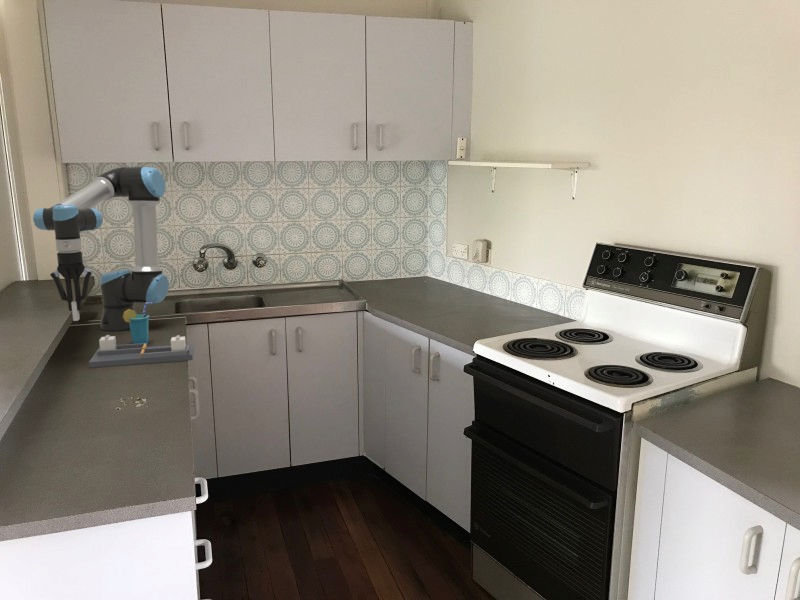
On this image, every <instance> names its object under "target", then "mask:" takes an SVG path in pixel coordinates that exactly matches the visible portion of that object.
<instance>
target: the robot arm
mask: <svg viewBox="0 0 800 600" xmlns="http://www.w3.org/2000/svg"><path fill="white" fill-rule="evenodd" d="M165 181H166V180H165V178H164V176H163V174H162V173H161V171H160V170H158V169H157V168H156V167H149V166H142V167H141V166H140V167H139V166H136V167H135V166H132V167H129V166H128V167H127V166H126V167H124V166H123V167H122V166H119V167H116V168H112V169H110V170H108V171H105V172H102V174H99V175H97V176H96V177H94V178H93V179H92V180H91V183H89V184H88V185H86V186H85V187H83V188H82V189H79V190H77V191H76V192H74V193H73V194H71V195H69V196H68V197H66V198H64V199H62V200H60V201H59V202H58V203H56V204H54V205H52V206H51V207H49V208H46V207H43V208H38V209H36V210H35V211H34V213H33V215H32V218H33V219H32V220H33V223H34V226H35V227H36V228H37V229H38V230H40V231H41V230H44V231H54V235H55V236H54V238H55V247H56V251H57V253H56V258H57V267H56V270H55V271H53V272H51V273H50V277H51V279H53V280H54V283H55V287H56V288H57V291H58V293H59V296H60V298H61V301H65V302H67V303H68V304H67V305H68V311H69V312H71V313H72V321H73V322H79V320H80V311H82V308H83V306H82V301H83V300H85V299H86V298H87V295H88V290H89V285H90V278H91V276H92V274H93V270H89V269H87V268H86V266H85V265H84V262H83V261H84V259H83V252H82V251H81V250H82V241H81V232H86V231H94V230H97V229H99V228H100V227H101V226H102V224H103V222H104V221H103V220H104V219H103V214H102V213H101V212H100V211H99V209H97V208H95V207H96V206H97V205H98V204H100V203H102V202H104V201H110V200H112V199H114V198H120V197H121V198H124V197H126V198H128V203H130V204H131V205H132V217H133V242H134V264H135V265H134V267H132V269H120V270H114V271H110V272H109V271H108V272H106V273H103V274H102V275H101V276H100V288H101V297H102V305H103V306H102V307H103V309H102V315H101V318H100V330H103V331H109V332H110V331H111V332H115V331H116V332H117V331H125V330H130V326H129V322H125V321H124V319H123V314H124V312H125V311H126V310H128V309H131V310H134V311H135V313H136V314H138V312H137V311H136V308H135V303H139V304H140V303H142V304H145V303H146V302H153V304H160V303H161V302H163V300H164V299H165V298H166V296H167V295H168V293H169V290H170V289H169V287H170V282H169V279H168V276H167V275H165V274H163V269H162V268H161V267H160V266H159V259H158V257H159V255H158V230H157V229H158V228H157V225H158V223H157V205H158V204H159V203H160V202H161V201H160V199H161V198H162V197H163V196H165V195H164V194H165V192H166V182H165ZM60 275H61V277H63V279H64V282H65V288H66V290H65V288H64V286H63V282H62V280H61V278H60ZM82 275H84V279H83V284H82V291H81V286H80V277H81V276H82ZM72 281H73V285H72ZM72 286H73V287H74V295H75V300H74V295H73V287H72Z"/></svg>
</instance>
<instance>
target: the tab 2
mask: <svg viewBox="0 0 800 600" xmlns="http://www.w3.org/2000/svg"><path fill="white" fill-rule="evenodd" d="M186 341H187V340H186V336H180V334H178V335H176V336H172V337H171V339H170V345H171V351H181V350H186V344H187V342H186Z"/></svg>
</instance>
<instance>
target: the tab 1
mask: <svg viewBox="0 0 800 600" xmlns="http://www.w3.org/2000/svg"><path fill="white" fill-rule="evenodd" d="M98 341H99V342H98V343H99V347H100V351H103V350H117V347H116V345H117V339H116V335H114V336H111V335H110V334H106V335H105V336H101V337H100V339H99V340H98Z"/></svg>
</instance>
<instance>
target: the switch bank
mask: <svg viewBox="0 0 800 600" xmlns="http://www.w3.org/2000/svg"><path fill="white" fill-rule="evenodd" d="M147 345H148V344H146V343H139V344H133V343H128V344H127V343H126V344H116V347H117V350H103V351H100V346H98V348H97V350H96V351H95V353H94V354H93V355H92V357H91V359H90V360H89V361H88V367H89V369H92V368H105V367H119V366H133V365H144V364H145V365H146V364H160V363H173V362H186V361H187V362H188V361H193V360H194V354H195V349H196V348H195V343H186V350H181V351H171V344H169V345H158V346H157V345H156V346H147Z"/></svg>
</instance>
